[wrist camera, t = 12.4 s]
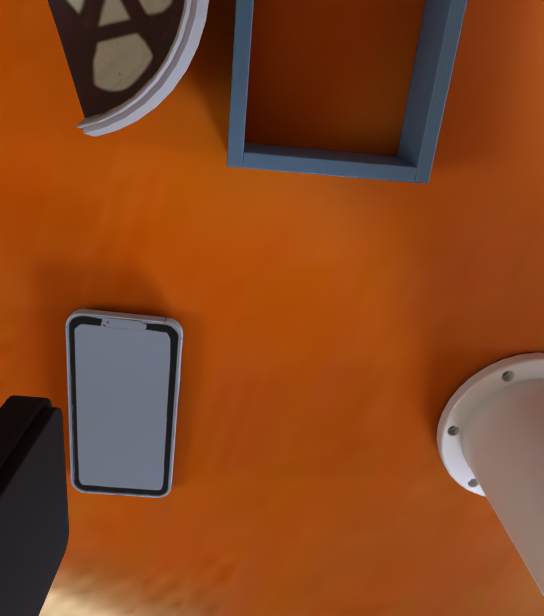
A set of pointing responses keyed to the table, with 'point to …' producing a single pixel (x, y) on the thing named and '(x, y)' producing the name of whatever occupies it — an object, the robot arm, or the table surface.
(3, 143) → the table surface
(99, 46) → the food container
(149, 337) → the smartphone
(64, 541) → the robot arm
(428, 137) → the rectangular frame
